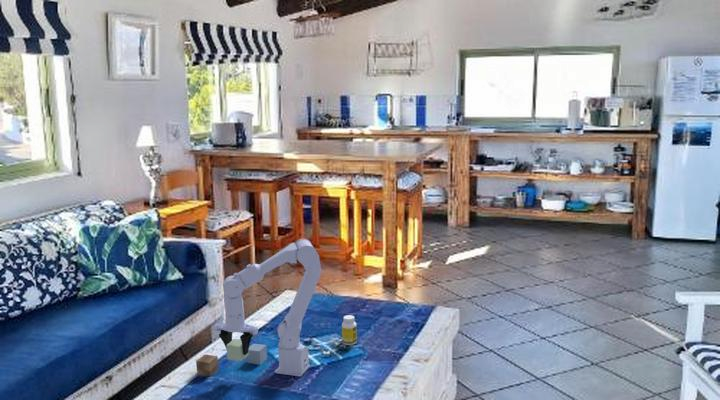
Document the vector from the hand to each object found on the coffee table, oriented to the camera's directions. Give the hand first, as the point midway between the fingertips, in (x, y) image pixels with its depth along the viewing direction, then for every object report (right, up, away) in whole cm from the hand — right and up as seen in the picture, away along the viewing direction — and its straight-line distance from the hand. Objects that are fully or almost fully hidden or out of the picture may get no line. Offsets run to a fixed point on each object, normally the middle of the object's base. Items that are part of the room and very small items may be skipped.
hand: (238, 352), depth 200 cm
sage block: (0, -1, 0) cm, 2 cm away
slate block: (+4, -6, +13) cm, 15 cm away
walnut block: (-11, -8, +6) cm, 15 cm away
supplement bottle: (+36, -3, +25) cm, 44 cm away
